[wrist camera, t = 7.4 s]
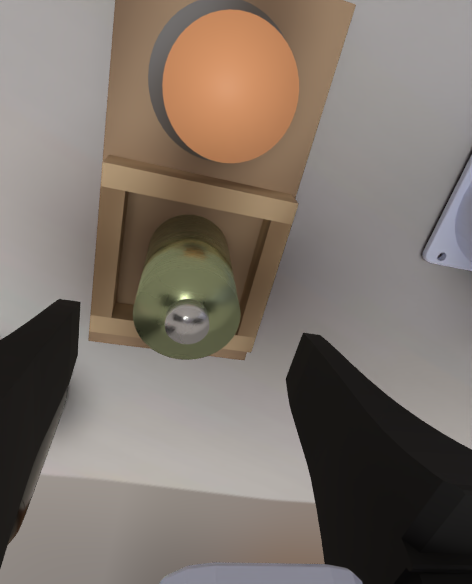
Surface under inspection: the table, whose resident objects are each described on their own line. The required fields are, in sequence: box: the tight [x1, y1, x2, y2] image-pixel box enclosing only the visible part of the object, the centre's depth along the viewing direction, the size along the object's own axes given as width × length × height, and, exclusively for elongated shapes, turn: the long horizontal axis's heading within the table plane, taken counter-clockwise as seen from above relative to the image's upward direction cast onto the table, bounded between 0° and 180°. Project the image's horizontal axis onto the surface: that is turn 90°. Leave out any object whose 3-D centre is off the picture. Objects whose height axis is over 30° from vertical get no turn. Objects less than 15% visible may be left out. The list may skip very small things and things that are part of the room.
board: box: [88, 0, 356, 360], centre depth 19 cm, size 9×18×3 cm, turn 167°
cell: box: [133, 215, 240, 360], centre depth 17 cm, size 4×4×7 cm
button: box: [162, 9, 299, 163], centre depth 14 cm, size 4×4×2 cm
